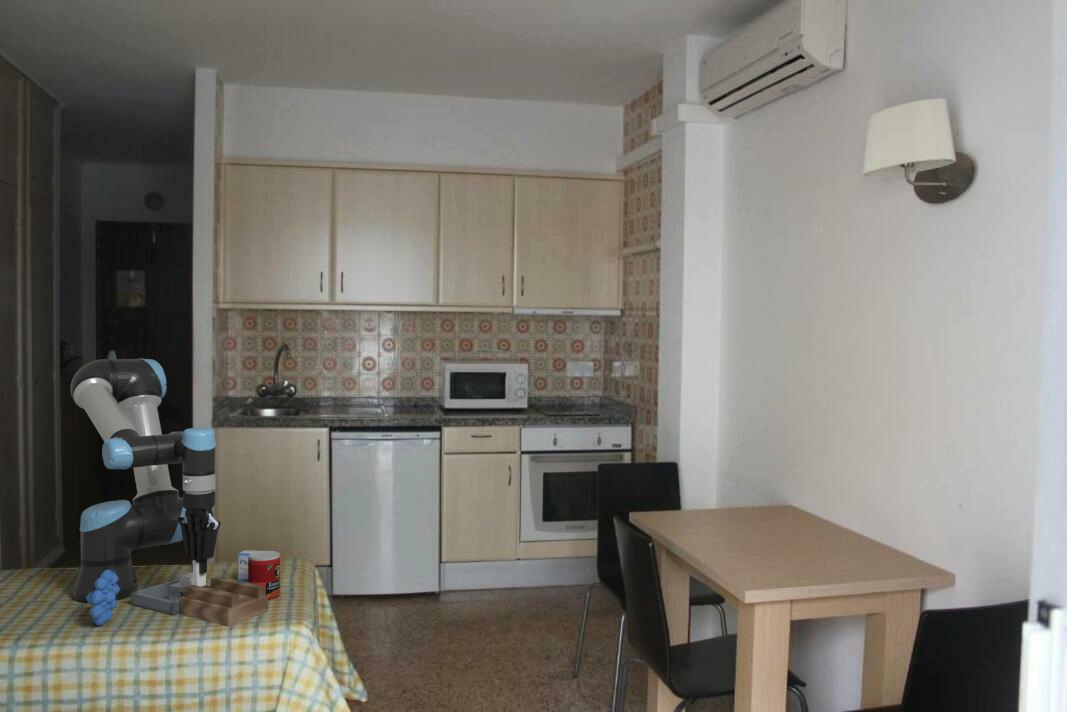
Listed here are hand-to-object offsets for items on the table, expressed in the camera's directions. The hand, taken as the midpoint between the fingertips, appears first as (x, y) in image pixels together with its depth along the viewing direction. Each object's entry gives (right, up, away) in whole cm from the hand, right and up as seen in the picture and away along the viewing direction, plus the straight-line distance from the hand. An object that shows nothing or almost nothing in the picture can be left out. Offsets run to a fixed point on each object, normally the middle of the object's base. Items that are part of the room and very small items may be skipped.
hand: (199, 585), depth 210 cm
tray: (-7, -5, +4) cm, 10 cm away
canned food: (+13, -5, +9) cm, 17 cm away
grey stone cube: (-4, -3, +2) cm, 5 cm away
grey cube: (-2, -2, +1) cm, 3 cm away
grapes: (-19, -6, -11) cm, 22 cm away
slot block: (+8, -5, -4) cm, 10 cm away
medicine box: (+7, -5, +20) cm, 22 cm away
